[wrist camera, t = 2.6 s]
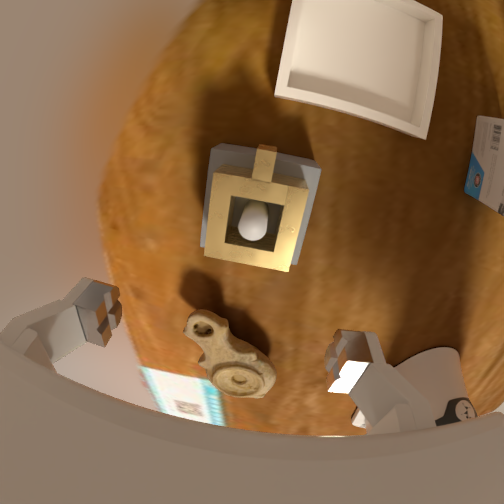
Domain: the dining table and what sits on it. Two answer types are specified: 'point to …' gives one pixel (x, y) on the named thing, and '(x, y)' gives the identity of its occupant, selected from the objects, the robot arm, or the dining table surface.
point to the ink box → (487, 164)
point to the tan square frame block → (263, 189)
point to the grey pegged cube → (254, 211)
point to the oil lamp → (229, 357)
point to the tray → (364, 60)
